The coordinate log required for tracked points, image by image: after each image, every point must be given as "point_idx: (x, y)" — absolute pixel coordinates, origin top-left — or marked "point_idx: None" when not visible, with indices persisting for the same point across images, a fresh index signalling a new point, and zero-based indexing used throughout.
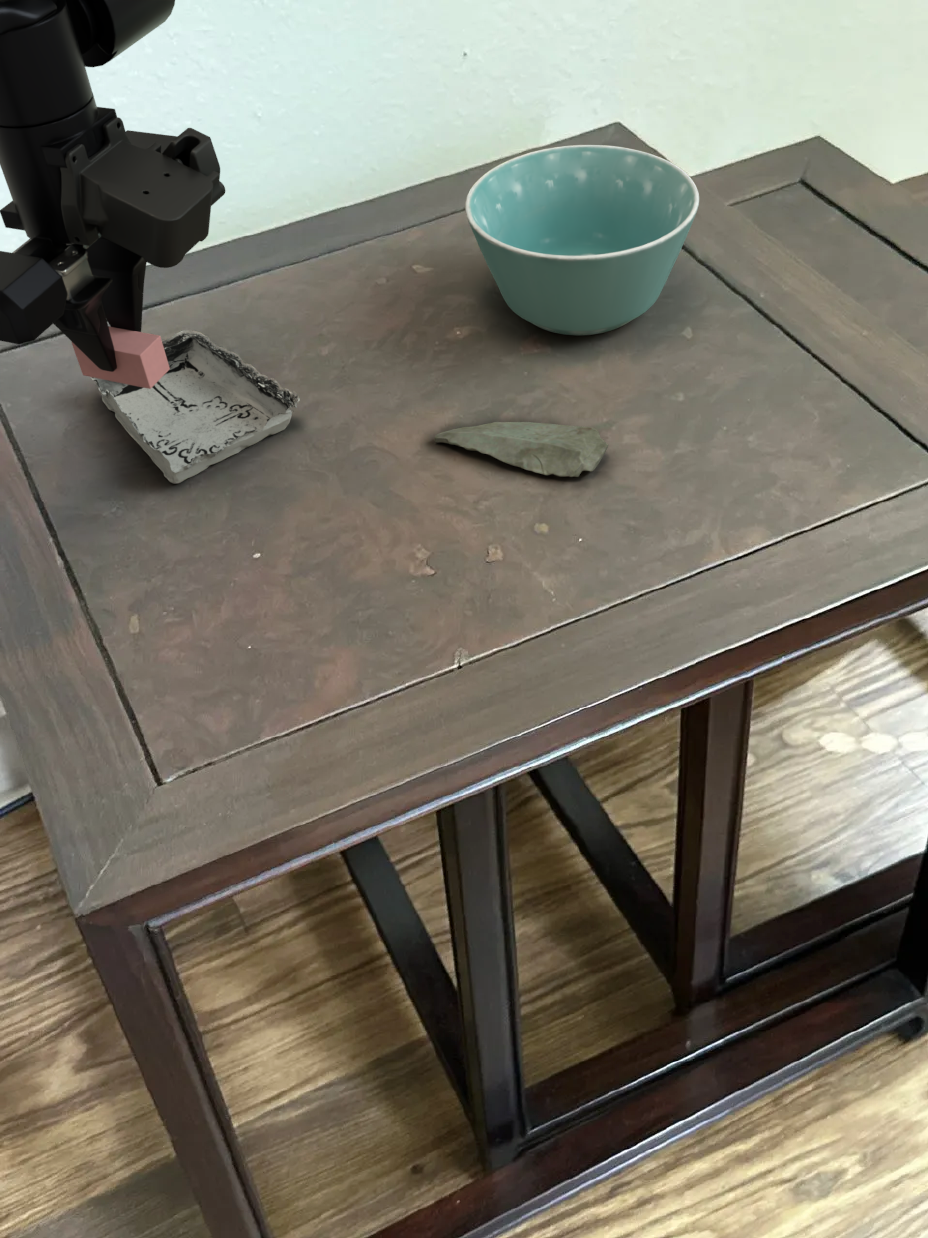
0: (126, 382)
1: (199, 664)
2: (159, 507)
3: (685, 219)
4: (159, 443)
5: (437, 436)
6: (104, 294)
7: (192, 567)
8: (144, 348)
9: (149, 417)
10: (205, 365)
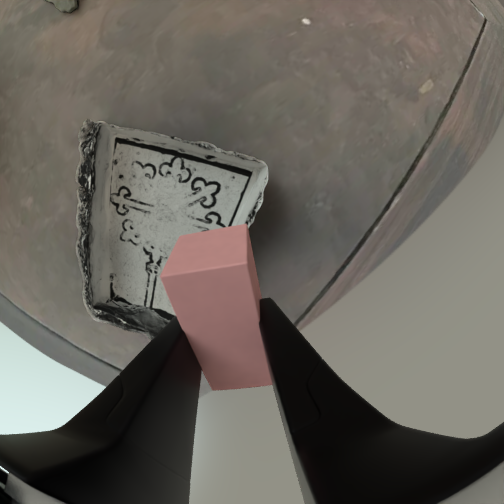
0: (256, 272)
1: (427, 19)
2: (296, 161)
3: None
4: None
5: (72, 5)
6: (185, 422)
7: (353, 70)
8: (219, 272)
9: None
10: (103, 279)
